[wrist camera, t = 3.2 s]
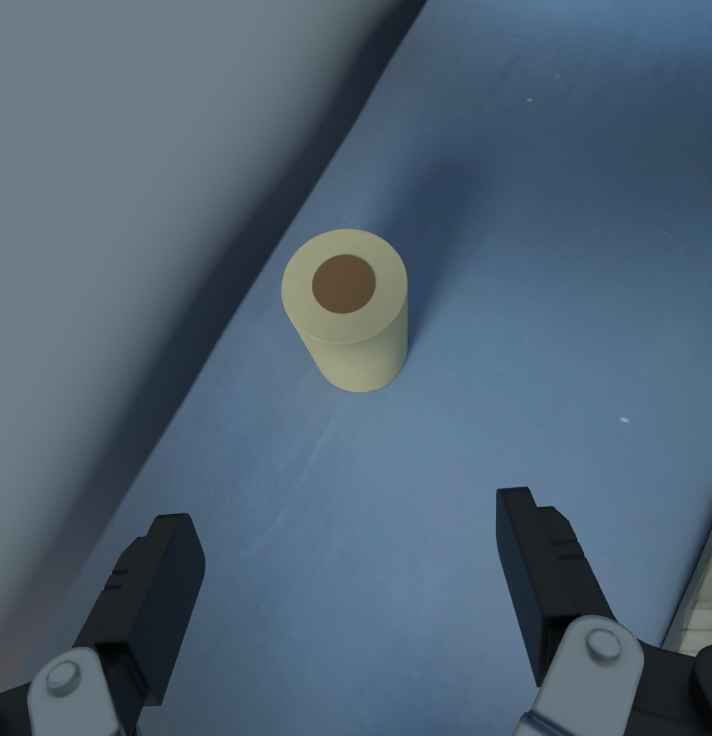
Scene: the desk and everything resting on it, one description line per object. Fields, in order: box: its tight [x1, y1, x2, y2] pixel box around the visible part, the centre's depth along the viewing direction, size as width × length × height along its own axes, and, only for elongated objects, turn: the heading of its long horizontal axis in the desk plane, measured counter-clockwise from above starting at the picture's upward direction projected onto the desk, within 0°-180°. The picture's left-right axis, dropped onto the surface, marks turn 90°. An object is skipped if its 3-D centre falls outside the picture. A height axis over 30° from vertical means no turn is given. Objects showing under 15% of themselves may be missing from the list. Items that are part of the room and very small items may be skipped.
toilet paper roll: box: [281, 229, 408, 393], centre depth 25 cm, size 5×5×8 cm
